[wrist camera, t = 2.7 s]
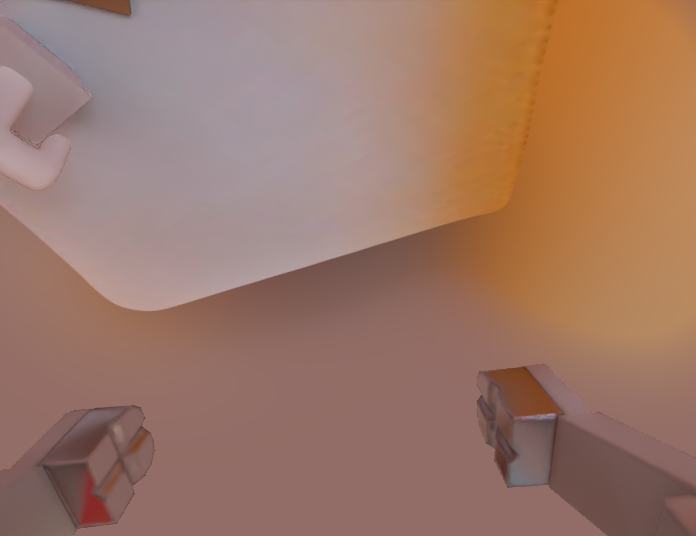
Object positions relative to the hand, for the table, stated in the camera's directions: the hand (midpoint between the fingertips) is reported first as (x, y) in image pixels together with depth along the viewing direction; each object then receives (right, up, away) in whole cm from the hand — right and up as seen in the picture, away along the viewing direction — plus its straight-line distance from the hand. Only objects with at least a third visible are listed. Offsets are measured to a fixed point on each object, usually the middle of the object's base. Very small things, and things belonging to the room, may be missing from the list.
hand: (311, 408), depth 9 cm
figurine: (-25, +20, +20) cm, 38 cm away
